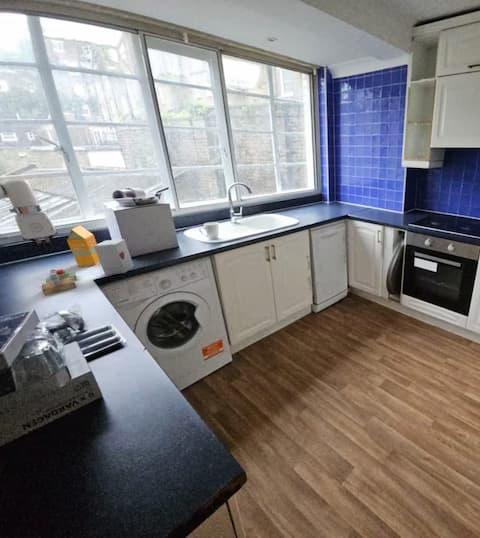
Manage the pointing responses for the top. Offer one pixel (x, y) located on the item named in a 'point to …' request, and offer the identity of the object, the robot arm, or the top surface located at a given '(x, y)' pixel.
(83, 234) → the orange juice
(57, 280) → the grey tan flat block
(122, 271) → the white product box
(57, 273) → the button
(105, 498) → the top surface
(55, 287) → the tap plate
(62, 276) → the button box
